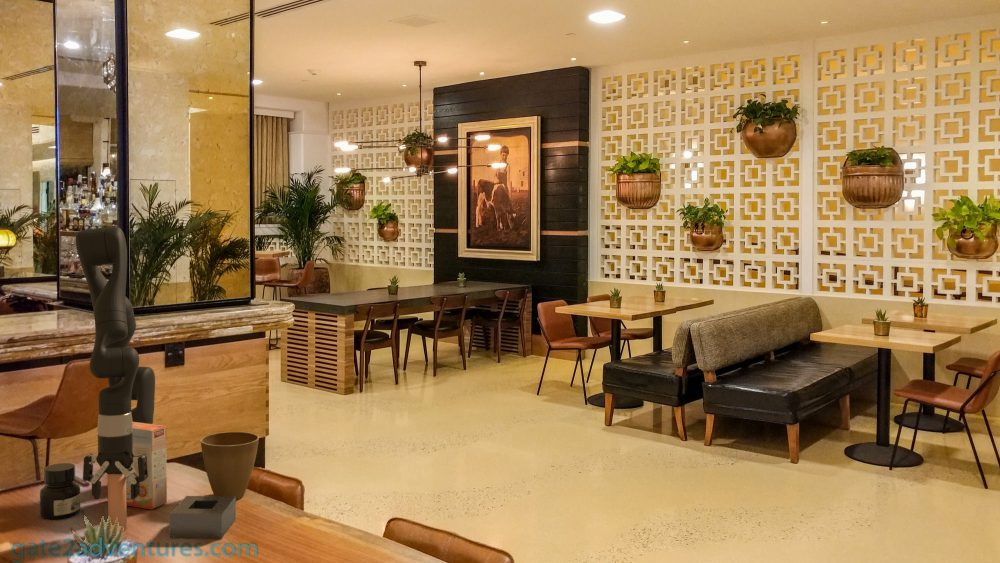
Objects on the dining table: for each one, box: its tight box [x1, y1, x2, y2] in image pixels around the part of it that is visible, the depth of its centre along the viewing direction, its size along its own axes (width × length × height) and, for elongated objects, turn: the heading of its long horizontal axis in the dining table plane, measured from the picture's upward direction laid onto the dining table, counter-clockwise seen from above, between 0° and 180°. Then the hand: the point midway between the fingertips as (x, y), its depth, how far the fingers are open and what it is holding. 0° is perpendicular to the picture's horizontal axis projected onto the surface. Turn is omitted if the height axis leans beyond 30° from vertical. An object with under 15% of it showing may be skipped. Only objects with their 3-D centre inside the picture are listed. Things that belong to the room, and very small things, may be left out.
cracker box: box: [126, 422, 168, 510], centre depth 215 cm, size 14×6×21 cm, turn 71°
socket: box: [169, 495, 237, 540], centre depth 200 cm, size 12×12×6 cm
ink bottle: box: [39, 462, 81, 520], centre depth 207 cm, size 10×9×12 cm
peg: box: [107, 473, 128, 532], centre depth 198 cm, size 4×4×14 cm
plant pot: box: [200, 431, 260, 500], centre depth 223 cm, size 15×15×16 cm
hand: (115, 498), depth 198 cm, fingers open, 8 cm apart
